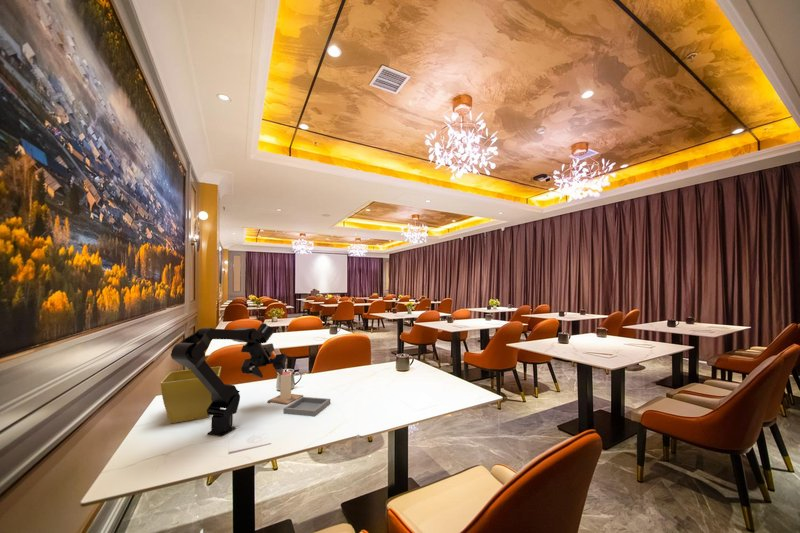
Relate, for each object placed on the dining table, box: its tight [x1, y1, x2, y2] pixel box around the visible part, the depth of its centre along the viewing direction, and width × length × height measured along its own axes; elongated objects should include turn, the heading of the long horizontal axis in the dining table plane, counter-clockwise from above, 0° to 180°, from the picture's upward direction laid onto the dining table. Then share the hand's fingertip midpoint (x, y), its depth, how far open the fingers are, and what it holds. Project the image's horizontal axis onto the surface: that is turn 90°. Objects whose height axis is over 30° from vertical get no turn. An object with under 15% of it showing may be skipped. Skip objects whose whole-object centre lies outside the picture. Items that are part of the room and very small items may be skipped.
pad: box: [266, 393, 304, 406], centre depth 142 cm, size 11×11×1 cm
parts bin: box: [283, 396, 331, 417], centre depth 131 cm, size 14×14×2 cm
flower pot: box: [160, 366, 222, 424], centre depth 127 cm, size 19×19×17 cm
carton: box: [279, 371, 292, 400], centre depth 142 cm, size 4×4×11 cm
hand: (272, 375), depth 137 cm, fingers open, 9 cm apart
